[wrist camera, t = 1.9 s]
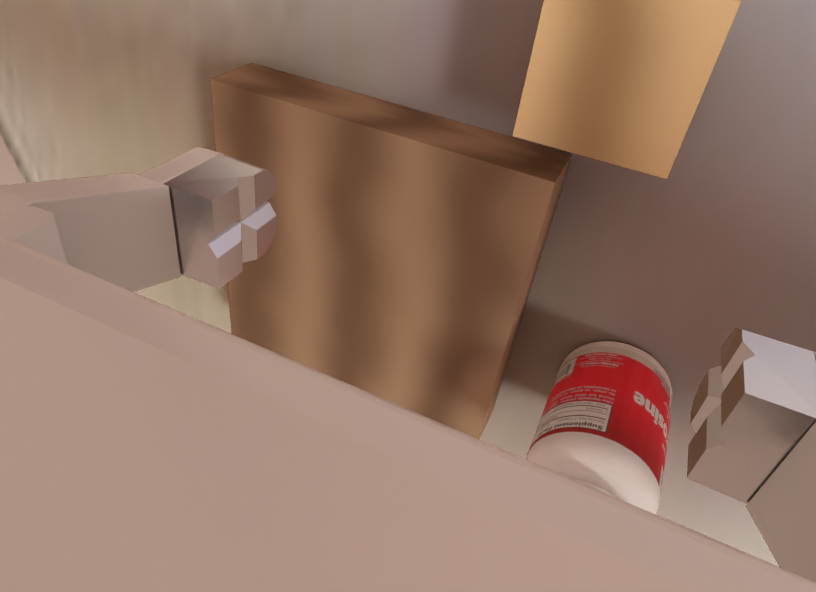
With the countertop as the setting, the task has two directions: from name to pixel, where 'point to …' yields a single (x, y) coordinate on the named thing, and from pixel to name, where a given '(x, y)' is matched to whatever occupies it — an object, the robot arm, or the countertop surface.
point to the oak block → (621, 77)
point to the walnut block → (387, 240)
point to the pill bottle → (608, 422)
